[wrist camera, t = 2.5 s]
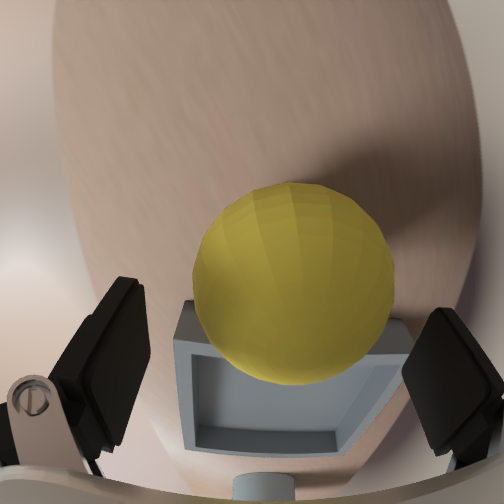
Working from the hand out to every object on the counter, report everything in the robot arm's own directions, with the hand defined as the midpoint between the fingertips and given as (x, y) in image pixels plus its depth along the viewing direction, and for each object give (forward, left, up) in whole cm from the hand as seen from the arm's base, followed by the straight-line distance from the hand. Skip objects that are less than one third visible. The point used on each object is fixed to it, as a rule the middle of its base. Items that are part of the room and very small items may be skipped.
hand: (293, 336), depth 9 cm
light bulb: (-1, 0, -9) cm, 9 cm away
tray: (+13, +3, -8) cm, 16 cm away
